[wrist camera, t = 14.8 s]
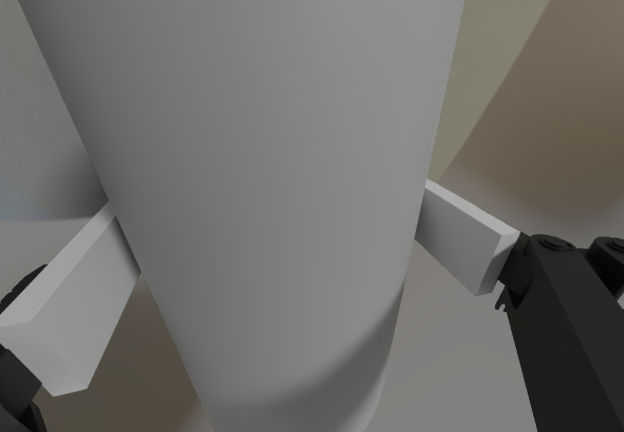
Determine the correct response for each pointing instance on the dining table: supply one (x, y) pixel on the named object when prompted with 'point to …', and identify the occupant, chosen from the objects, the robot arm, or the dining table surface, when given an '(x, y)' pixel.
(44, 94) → the dining table surface
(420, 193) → the cylinder vase
